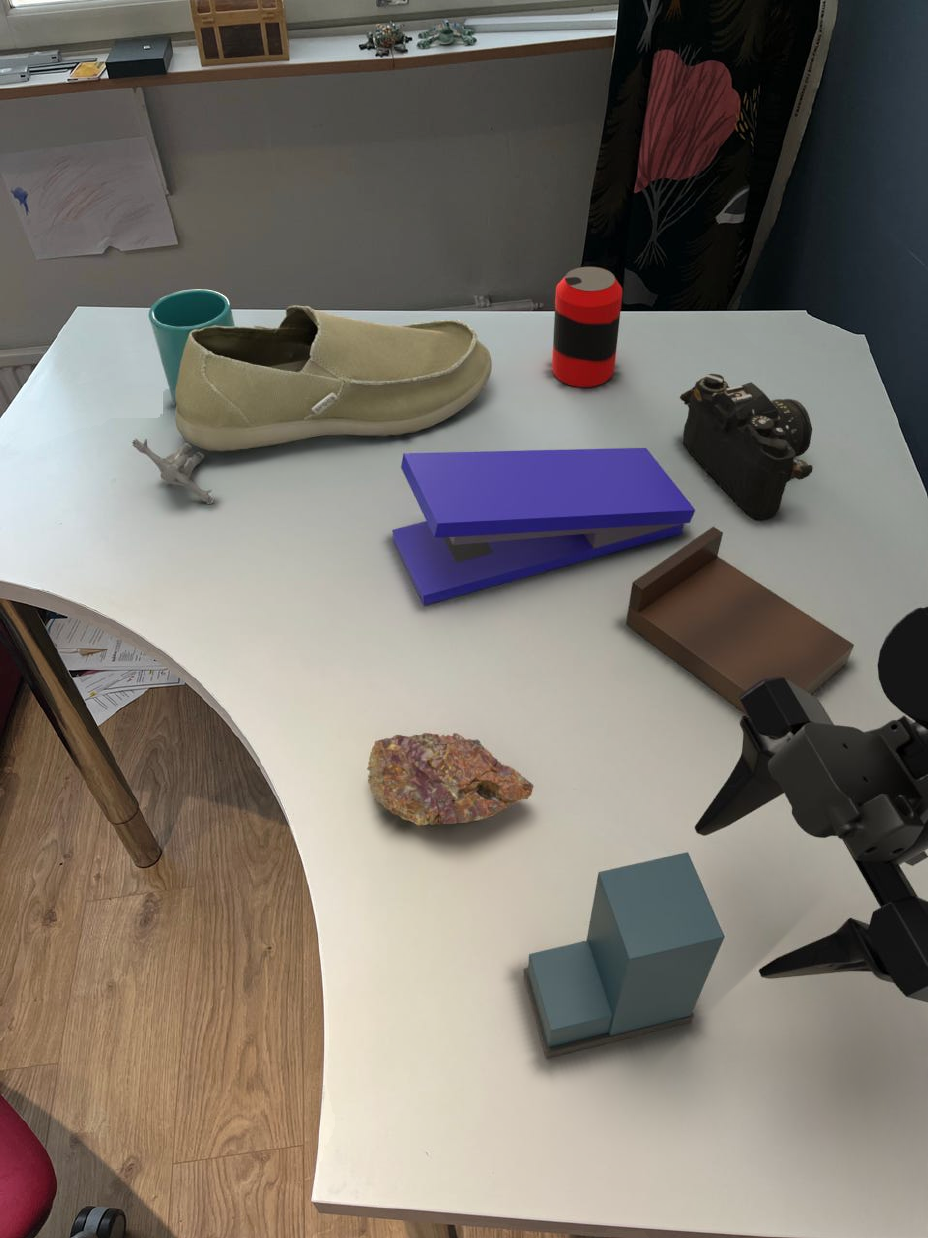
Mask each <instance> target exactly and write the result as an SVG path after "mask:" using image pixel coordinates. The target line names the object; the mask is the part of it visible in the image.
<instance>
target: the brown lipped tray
mask: <svg viewBox="0 0 928 1238" xmlns="http://www.w3.org/2000/svg"><path fill="white" fill-rule="evenodd" d="M723 535H724V532H723V531H721V530H720V529H719V528H717V527H715V526H712V527H710V528H709V529H707V530H706V531H704V532H703V533H702V534H699V536H697V537H696V538H694V539H693V540H692V541H690V542H688V543H687V544H686V545H684V546H683V547H681V548H680V549H678V550H677V551H676V552H674V553H673V554H671V555H670V556H668V557H667V558H665V559H664V560H662V561H661V562H660V563H658V564H656V565H655V566H654V567H652V568H651V569H649V570H648V571H647V572H645V573H644V574H642V575H640V576H639V577H638V578H637V579H634V581H632V583H631V590H630V595H629V596H630V597H629V601H628V607H627V608H628V609H627V614H626V621H625V625H626V626H627V627H629V628H630V629H631V630H633V631H634V632H636V633H637V634H638V635H639V636H641V637H642V638H644V639H645V640H646V641H647V642H649V643H650V644H651V645H653V646H655V648H657V649H658V650H660V652H662V653H664V654H665V655H666V656H668V657H669V658H670V659H671V660H673V661H674V662H676V663H677V664H679V666H681V667H683V668H684V669H685V670H686V671H688V672H689V673H690V674H692V675H693V676H694V677H696V678H697V679H699V680H700V681H701V682H702V683H704V684H705V685H707V686H708V687H709V688H711V689H712V690H714V692H716V693H717V694H719V695H720V696H721V697H723V698H724V699H726V700H727V701H728V702H729V703H731V704H732V705H733V706H735V707H736V708H738V709H739V710H740V711H742V712H743V713H744V714H746V715H747V717H749V715H748V714H747V712H746V710H745V708H744V706H743V704H742V703H741V701H740V695H741V694H742V693H743V692H745V691H746V690H748V689H749V688H751V687H752V686H753V685H755V684H756V683H758V682H759V681H760V680H762V679H767V678H772V677H784V678H786V679H788V680H789V681H791V682H792V683H794V684H795V685H797V686H798V687H800V688H801V689H803V690H805V691H806V692H808V693H809V694H811V695H813V693H814V692H815V691H817V690H818V689H819V688H820V687H821V686H822V685H823V684H825V682H827V681H828V680H829V679H830V678H831V677H833V676H834V675H835V674H836V673H837V672H839V670H841V668H843V667H844V666H845V665H846V664H847V662H848V660H849V658H850V656H851V653H852V651H853V649H854V647H855V644H854V643H852V642H850V641H849V640H847V639H846V638H845V637H843V636H842V635H840V634H838V633H837V632H835V631H834V630H832V629H831V628H829V627H828V626H826V625H824V624H823V623H822V622H820V621H819V620H817V619H815V618H814V617H812V616H810V615H809V614H807V613H806V612H805V611H804V610H802V609H800V608H799V607H796V606H795V605H794V604H792V603H791V602H789V601H787V600H786V599H784V598H783V597H782V596H780V595H778V594H777V593H775V592H774V591H772V590H770V589H769V588H768V587H766V586H764V585H762V584H761V583H760V582H758V581H756V580H755V579H753V578H752V577H750V576H749V575H748V574H746V573H744V572H743V571H741V570H740V569H738V568H737V567H735V566H733V565H732V564H731V563H729V562H727V561H726V560H724V559H722V558H721V557H719V556H718V555H719V551H720V547H721V544H722V540H723Z"/></svg>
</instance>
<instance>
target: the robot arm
mask: <svg viewBox="0 0 928 1238" xmlns="http://www.w3.org/2000/svg"><path fill="white" fill-rule="evenodd" d="M877 675H878V681H879V683H880V686H881V689H882V692H883V693H884V695H885V697H886V698H887V700H888V701H889V702H890V703H891V704H892V705H894V707H895V708H897V709H898V710H899V711H900V712H901V713H903V714H904V715H902V716H901V717H899V718H898V719H892V720H890V721H888V722H887V723H886V724H883V725H882V726H880V727H878V728H877V727H876V728H874V729H870V730H867V731H863V730H861V729H859V728H857V727H854V726H847V725H840V724H839V725H838V724H834V722H833V721H832V719H831V717H830V715H829V714H828V713H827V711H826V709H825V707H824V706H823V704H822V703H821V701H820V700H819V698H817V697H816V696H813V694H809V693H808V692H806V691H805V690H803V689H801V688H800V687H798V686H797V685H795V684H794V683H792V682H791V681H789V680H788V679H786V678H784V677H772V678H767V679H762V680H760V681H759V682H758V683H756V684H755V685H753V686H752V687H751V688H749V689H748V690H746V691H745V692H743V693H742V694H741V695H740V701H741V703H742V704H743V706H744V708H745V710H746V712H747V714H748V715H749V716H748V715H747V714H746V715H747V716H746V715H742V717H741V718H740V720H739V727H740V729H741V731H742V743H741V744H742V747H741V753H740V756H739V759H738V761H737V762H736V764H735V766H734V768H733V769H732V772H731V773H730V775H729V776H728V778H727V780H726V781H725V782H724V784H723V785H722V787H721V788H720V790H719V791H717V794H716V796H715V797H714V798H713V799H712V801H711V803H710V804H709V805H708V806H707V808H706V810H705V811H704V812H703V813H702V815H701V817H700V818H699V819H698V820H697V822H696V824H695V825H694V830H695V832H696V834H697V835H701V836H703V837H704V836H705V837H706V836H709V835H711V834H713V833H716V832H718V831H720V830H723V829H725V828H727V827H729V826H732V825H733V824H734V823H736V822H737V821H739V820H741V819H742V818H744V817H747V816H748V815H750V814H752V812H755V811H757V810H758V809H760V808H761V807H763V806H765V805H766V804H768V803H770V802H771V801H773V800H775V799H777V798H778V797H780V796H782V795H784V794H785V797H786V799H787V801H788V802H789V804H790V806H791V815H792V817H793V818H794V820H795V822H796V823H797V825H798V827H800V829H802V831H803V832H805V833H806V834H808V835H809V836H811V837H814V838H818V839H826V838H829V837H838V838H839V839H840V840H842V842H843V844H844V846H845V847H846V849H847V851H848V852H849V855H850V856H851V857H852V860H853V861H854V863H855V865H856V867H857V868H858V870H859V872H860V874H861V875H862V877H863V879H864V880H865V882H866V884H867V886H868V888H869V890H870V892H871V893H872V895H873V896H874V898H875V901H876V902H877V904H878V905H879V907H878V908H877V909H875V910H873V911H872V913H871V916H870V922H869V923H867V922H864V921H862V920H858V919H856V918H853V917H849V918H847V919H846V920H845V921H844V922H843V924H842V925H840V926H839V928H838V929H836V931H835V932H832V933H831V934H829V935H826V936H824V937H821V938H819V939H817V940H815V941H813V942H810V943H808V944H805V945H803V946H801V947H799V948H796V949H794V950H791V951H790V952H787V953H784V954H782V955H781V956H778V957H776V958H774V959H773V960H770V962H769V963H767V964H765V965H763V966H761V967H760V968H759V969H758V973H759V976H760V977H761V978H763V979H767V980H772V979H783V978H793V977H804V976H814V975H824V974H836V973H848V972H863V973H864V972H866V973H869V972H870V973H872V974H873V976H875V977H876V978H877V979H879V980H881V981H885V982H887V983H888V982H889V983H892V984H894V985H895V986H896V988H898V990H899V991H900V992H901V993H902V994H903V995H904V997H905V998H908V999H912V1000H916V1001H920V1002H924V1003H928V900H925V899H923V898H921V897H919V896H918V894H917V893H916V891H915V889H914V888H913V885H912V884H911V882H910V881H909V879H908V878H907V876H906V874H905V872H904V871H903V869H902V868H901V866H900V865H902V864H907V865H909V866H912V867H914V866H915V865H917V864H919V863H920V862H922V861H924V860H926V859H928V854H927V852H926V851H927V850H928V606H925V607H917V608H915V609H914V610H912V611H910V612H909V613H907V614H905V615H904V616H903V617H902V618H901V619H900V620H899V621H897V622H896V624H895V625H893V627H891V629H890V631H889V632H888V633H887V634H886V637H884V640H883V642H882V644H881V647H880V650H879V653H878V660H877Z"/></svg>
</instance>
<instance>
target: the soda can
mask: <svg viewBox="0 0 928 1238" xmlns="http://www.w3.org/2000/svg"><path fill="white" fill-rule="evenodd" d="M622 300H623V287H622V286H621V284H620V283H619V282H618V280H617V278H616V277H615V275H614V273H612V272H611V271H610V270H608V269H606V268H602V267H597V266H581V267H577V268H573V269H571V270H570V271H568V272H567V273H566V274H565V276H563V278H562V279H561V280H560V281H559V282H558V283H557V285H556V288H555V300H554V317H553V318H554V321H553V340H552V358H551V370H552V373H553V375H554V376H555V377H556V378H557V379H558V380H559V381H560V382H562V383H563V384H566V385H569V386H572V387H576V388H592V387H597V386H600V385H602V384H604V383H606V382H607V381H608V380H609V379H610V378H612V376H613V375H614V373H615V366H616V357H617V356H616V355H617V348H618V347H617V346H618V339H619V338H618V337H619V330H620V329H619V327H620V320H621V319H620V318H621V310H622Z"/></svg>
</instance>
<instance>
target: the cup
mask: <svg viewBox="0 0 928 1238" xmlns="http://www.w3.org/2000/svg"><path fill="white" fill-rule="evenodd" d="M148 319H149V323H150V326H151V330H152V334H153V337H154V340H155V343H156V348H157V350H158V354H159V357H160V361H161V365H162V368H163V371H164V375H165V378H166V382H167V385H168V388H169V393H170V396H171V399H172V400H173V402H174V403H175V404H177V403H176V398H175V390H176V385H177V380H178V374H179V368H180V363H181V359H182V355H183V351H184V348H185V345H186V342H187V339H188V336H189V333H190V332H191V331H193V330H195V329H197V330H200V329H202V328H204V327H210V326H213V325H215V326H224V327H225V326H227V327H231V326H232V327H236V326H235V321H234V316H233V311H232V307H231V302H230V300H229V299H228V297H226V296H225V295H223V294H222V293H220V292H218V291H214V290H209V289H201V288H200V289H197V288H196V289H187V290H181V291H177V292H173V293H170V294H167V295H165V296H163V297H162V298H159V299H158V300H157V301H155V302H154V303H153V304H152V305H151V307H150V309H149V311H148Z"/></svg>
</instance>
